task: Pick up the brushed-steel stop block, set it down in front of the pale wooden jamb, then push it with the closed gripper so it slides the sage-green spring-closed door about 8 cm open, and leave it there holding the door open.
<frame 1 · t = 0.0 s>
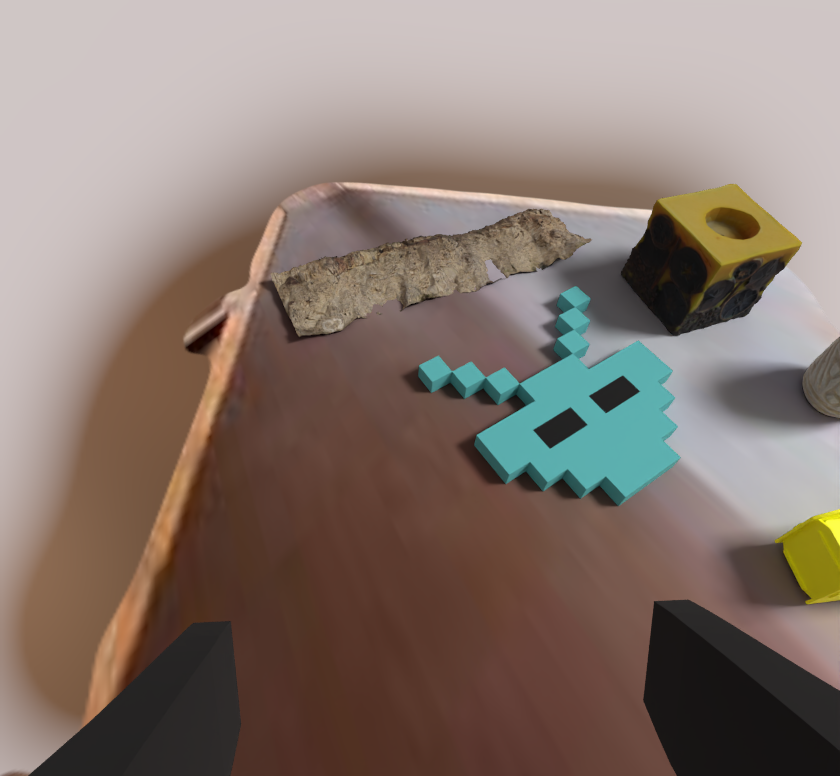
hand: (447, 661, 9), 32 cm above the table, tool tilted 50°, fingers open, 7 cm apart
carving: (829, 398, 54), on the table
alien figure: (564, 407, 52), on the table
candle: (681, 296, 61), on the table
rock fragment: (435, 275, 62), on the table
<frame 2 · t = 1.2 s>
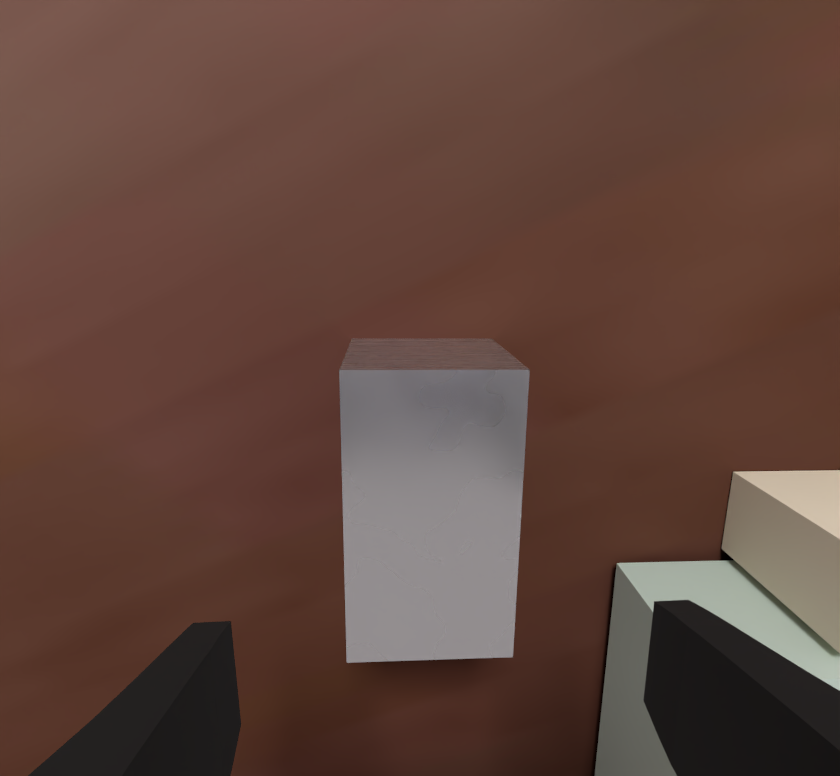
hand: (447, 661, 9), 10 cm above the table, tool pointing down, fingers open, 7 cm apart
sliding door: (728, 767, 19), point 3 cm above the table, slide at 0.0 cm
stop block: (420, 454, 19), on the table
wall frame: (764, 602, 21), on the table
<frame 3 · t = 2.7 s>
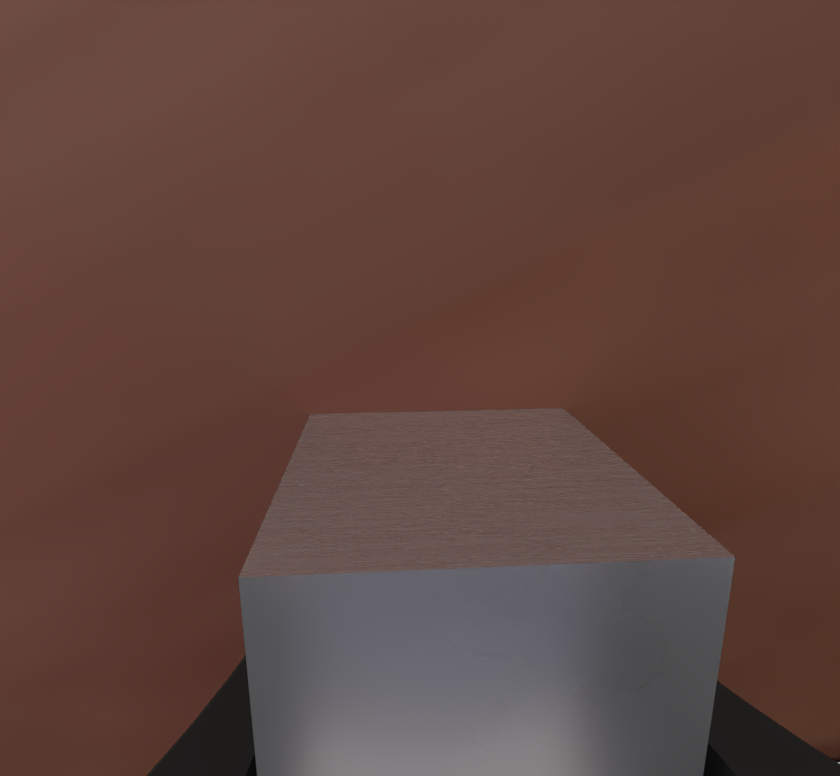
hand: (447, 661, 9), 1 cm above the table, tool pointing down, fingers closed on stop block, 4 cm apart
stop block: (437, 608, 11), on the table, touching gripper
when the fingers open (2 cm above the table, at t = 7.0 s): stop block drops 1 cm, on the table.
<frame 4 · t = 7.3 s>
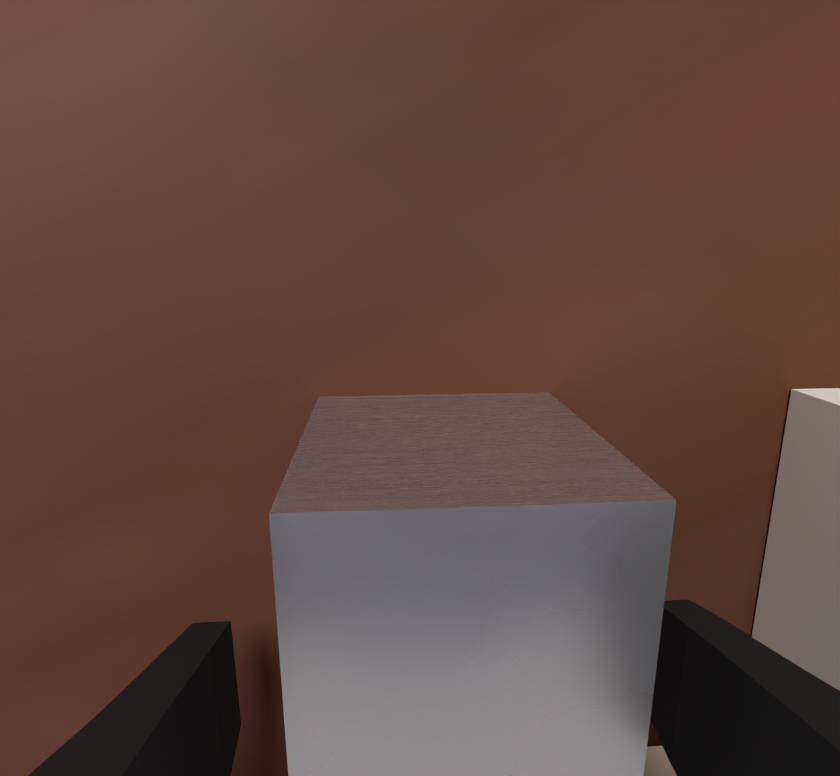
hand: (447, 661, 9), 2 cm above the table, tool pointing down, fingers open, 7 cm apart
stop block: (433, 573, 12), on the table
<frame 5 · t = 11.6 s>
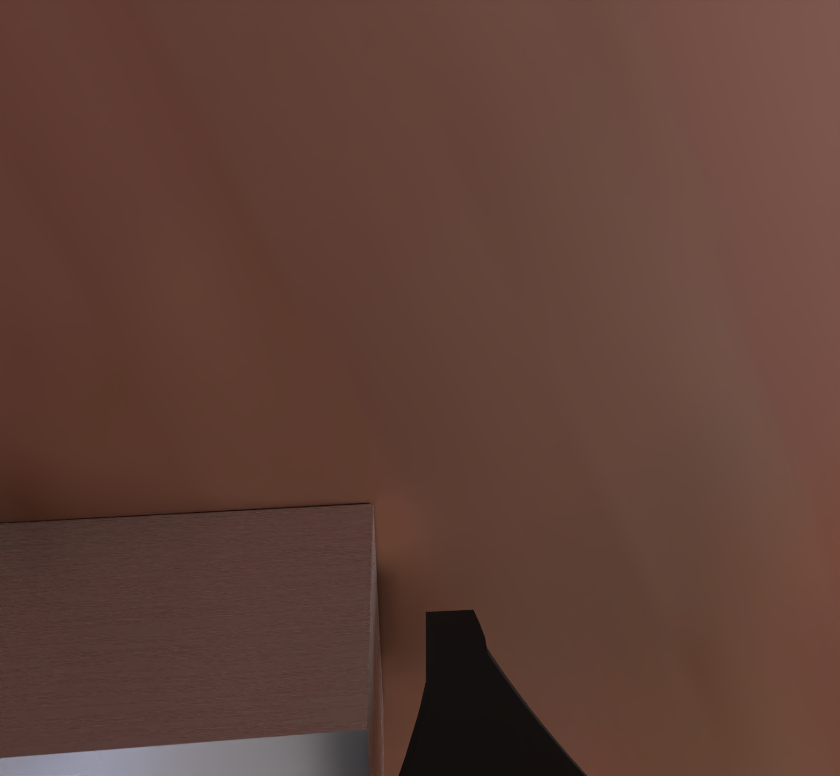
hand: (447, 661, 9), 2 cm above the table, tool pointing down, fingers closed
stop block: (166, 624, 10), on the table, touching gripper
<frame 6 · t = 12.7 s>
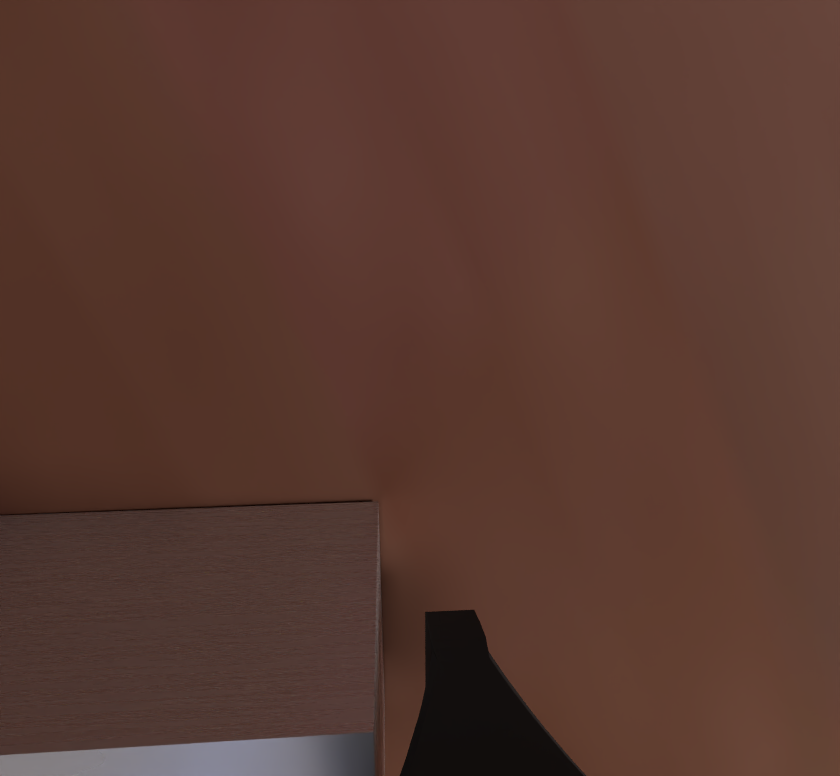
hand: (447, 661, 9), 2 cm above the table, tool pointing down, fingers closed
stop block: (169, 619, 10), on the table, touching gripper
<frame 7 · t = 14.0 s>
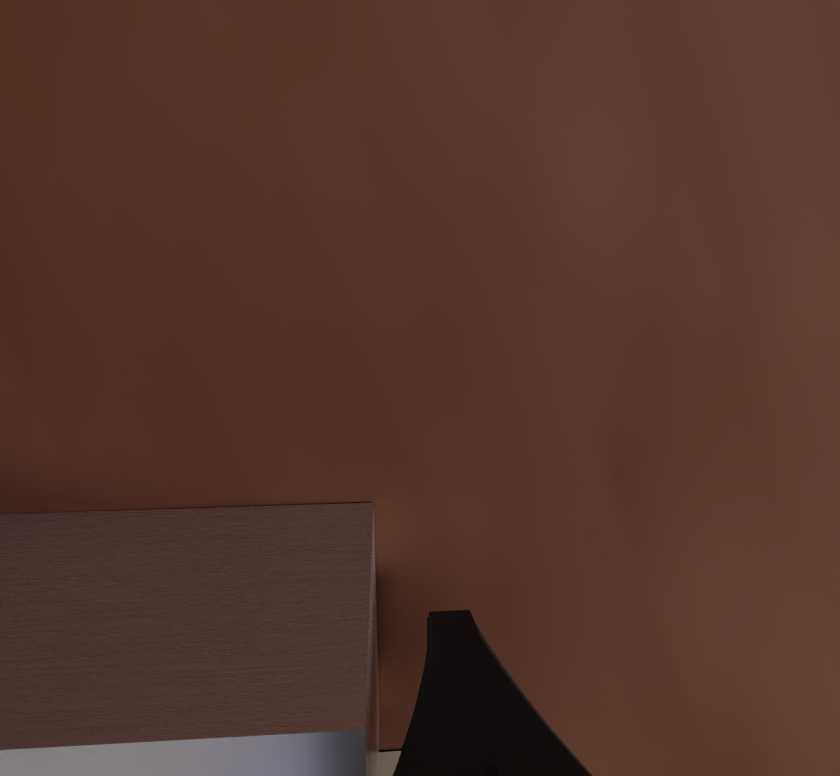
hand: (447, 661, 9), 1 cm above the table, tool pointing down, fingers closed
stop block: (164, 619, 10), on the table, touching gripper, sliding door
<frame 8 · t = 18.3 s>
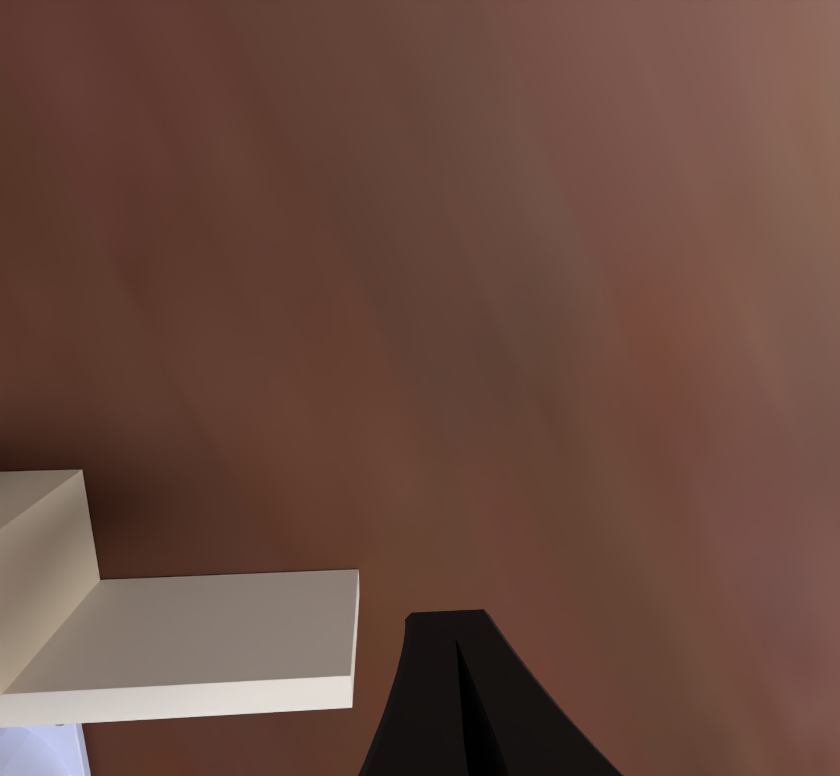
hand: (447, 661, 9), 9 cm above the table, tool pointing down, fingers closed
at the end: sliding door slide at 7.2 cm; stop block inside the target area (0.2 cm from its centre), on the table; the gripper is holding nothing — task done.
